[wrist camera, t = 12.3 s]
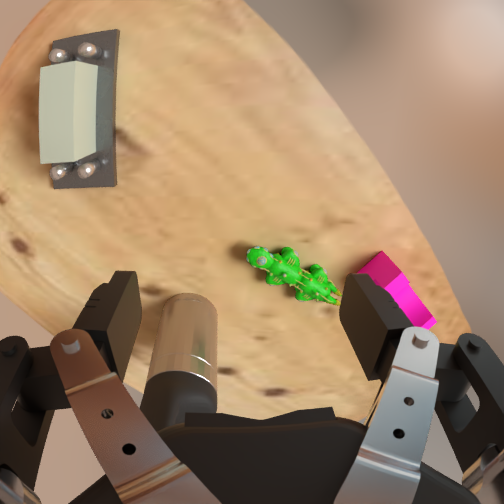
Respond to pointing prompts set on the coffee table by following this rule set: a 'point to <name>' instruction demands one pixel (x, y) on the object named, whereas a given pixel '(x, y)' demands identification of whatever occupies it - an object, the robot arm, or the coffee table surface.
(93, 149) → the block
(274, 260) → the crocodile figurine
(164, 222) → the coffee table surface
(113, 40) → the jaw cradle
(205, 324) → the robot arm
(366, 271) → the toy block
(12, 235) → the coffee table surface
